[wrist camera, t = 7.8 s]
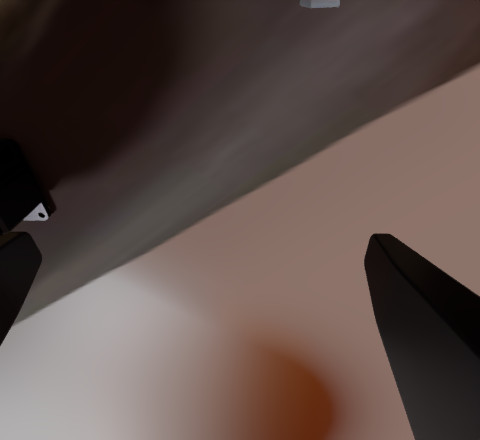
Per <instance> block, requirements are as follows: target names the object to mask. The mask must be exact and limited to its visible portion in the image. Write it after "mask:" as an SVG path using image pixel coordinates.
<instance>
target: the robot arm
mask: <svg viewBox="0 0 480 440" xmlns="http://www.w3.org/2000/svg"><path fill="white" fill-rule="evenodd" d="M7 145H8V146H10V148H11V149H10V148H9V147H8V146H7ZM42 213H43V214H42ZM50 216H51V212H50V210H49V208H48V206H47V204H46V202H45V200H44V198H43V196H42V194H41V192H40V190H39V188H38V186H37V184H36V181H35V179H34V177H33V175H32V173H31V171H30V169H29V167H28V165H27V163H26V161H25V159H24V157H23V155H22V153H21V151H20V149H19V147H18V145H17V144H16V142H14V141H13V140H11V139H0V346H1V344H2V342H3V340H4V339H5V337H6V335H7V333H8V332H9V330H10V328H11V326H12V325H13V323H14V321H15V319H16V317H17V316H18V314H19V312H20V310H21V308H22V305H23V303H24V301H25V299H26V297H27V294H28V292H29V290H30V288H31V285H32V283H33V281H34V279H35V276H36V274H37V272H38V270H39V267H40V265H41V263H42V254H41V252H40V251H39V249H38V247H37V245H36V244H35V242H34V240H33V238H32V236H31V235H30V234H29V233H27V232H11V231H12V230H13V229H14V228H15V227H16V226H17V225H18V224H19V223H20V222H21V221H22V220H47V219H48V218H49V217H50ZM364 266H365V271H366V276H367V281H368V286H369V291H370V296H371V301H372V306H373V311H374V315H375V319H376V323H377V326H378V329H379V333H380V336H381V339H382V342H383V345H384V348H385V351H386V353H387V357H388V360H389V363H390V366H391V369H392V372H393V375H394V378H395V381H396V384H397V387H398V390H399V393H400V396H401V399H402V402H403V405H404V408H405V411H406V414H407V417H408V420H409V423H410V426H411V429H412V431H413V435H414V438H415V440H480V296H478V295H477V294H475V293H474V292H472V291H471V290H470V289H468V288H467V287H465V286H464V285H462V284H461V283H460V282H458V281H457V280H455V279H454V278H452V277H451V276H449V275H448V274H447V273H445V272H444V271H442V270H441V269H439V268H438V267H437V266H435V265H434V264H432V263H431V262H430V261H428V260H427V259H425V258H424V257H422V256H421V255H419V254H418V253H417V252H415V251H414V250H412V249H411V248H409V247H408V246H407V245H405V244H404V243H402V242H401V241H400V240H398V239H397V238H395V237H394V236H392V235H391V234H373V235H372V236H371V237H370V240H369V244H368V248H367V251H366V255H365V259H364Z"/></svg>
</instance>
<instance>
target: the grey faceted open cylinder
mask: <svg viewBox="0 0 480 440" xmlns="http://www.w3.org/2000/svg"><path fill="white" fill-rule="evenodd" d="M339 3H340V0H300V6H304V7H308V8H322V7H339Z"/></svg>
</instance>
